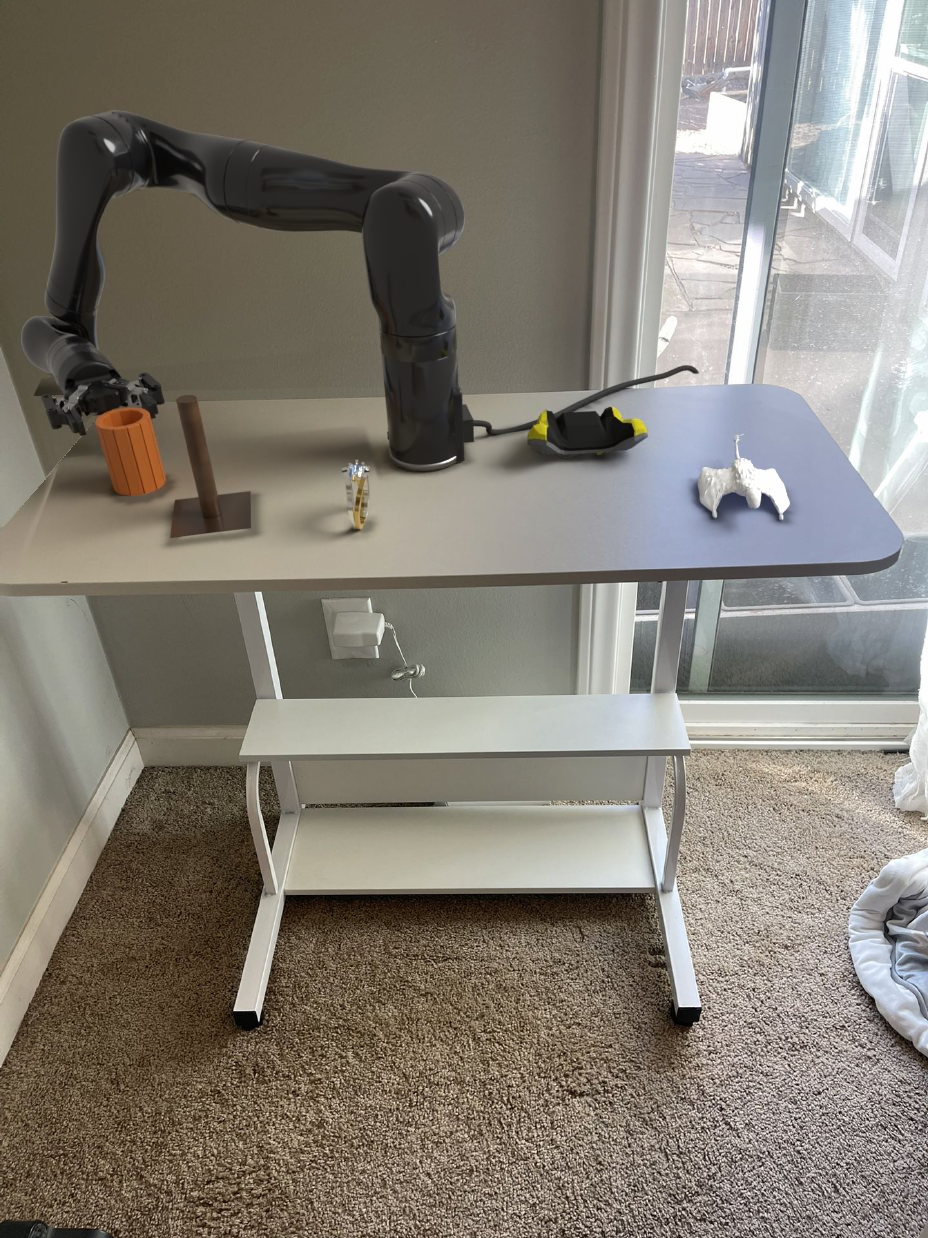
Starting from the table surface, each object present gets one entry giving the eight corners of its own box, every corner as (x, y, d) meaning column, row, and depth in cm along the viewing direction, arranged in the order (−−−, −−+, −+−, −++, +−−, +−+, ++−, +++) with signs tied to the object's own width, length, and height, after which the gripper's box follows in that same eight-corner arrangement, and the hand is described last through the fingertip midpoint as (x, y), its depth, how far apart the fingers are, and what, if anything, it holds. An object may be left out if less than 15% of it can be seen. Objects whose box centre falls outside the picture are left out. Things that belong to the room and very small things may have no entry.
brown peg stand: (251, 496, 112) (229, 379, 103) (252, 533, 105) (228, 410, 96) (176, 505, 111) (147, 387, 102) (171, 543, 104) (139, 420, 95)
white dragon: (690, 456, 117) (694, 426, 115) (772, 458, 116) (778, 428, 114) (704, 529, 103) (709, 496, 100) (798, 532, 102) (805, 499, 99)
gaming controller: (648, 466, 115) (632, 432, 123) (652, 425, 112) (635, 393, 120) (529, 472, 115) (520, 437, 123) (529, 431, 112) (521, 399, 120)
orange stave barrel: (168, 474, 118) (151, 404, 112) (165, 497, 113) (146, 425, 107) (118, 480, 117) (98, 410, 111) (113, 503, 112) (91, 431, 106)
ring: (368, 543, 103) (361, 479, 98) (340, 541, 103) (332, 477, 98) (382, 512, 108) (376, 450, 103) (356, 510, 109) (348, 449, 104)
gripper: (23, 362, 119) (48, 404, 108) (132, 340, 125) (167, 377, 114) (40, 416, 124) (66, 462, 112) (145, 392, 129) (180, 433, 118)
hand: (117, 419), depth 113 cm, fingers open, 8 cm apart
